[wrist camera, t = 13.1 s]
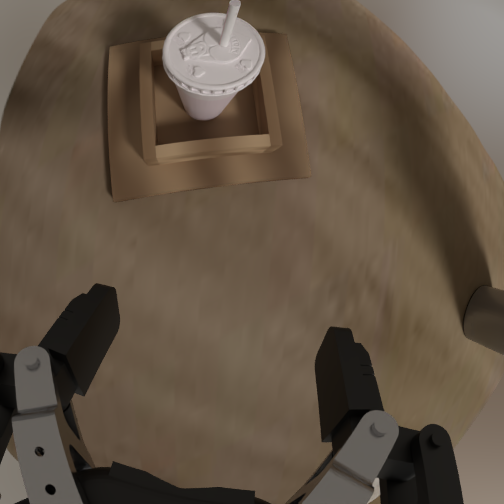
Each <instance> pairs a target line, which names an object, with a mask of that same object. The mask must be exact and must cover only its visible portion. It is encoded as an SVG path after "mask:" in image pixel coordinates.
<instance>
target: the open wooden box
mask: <svg viewBox="0 0 504 504" xmlns="http://www.w3.org/2000/svg"><path fill="white" fill-rule="evenodd" d="M258 33H259V34H260V36H261V38H262V40H263V42H264V46H265V59H264V62H263V65H262V67H261V70H260V72H259V74H258V76H257V77H256V78H255V79H254V81H253V82H252V83H251V84H249V85H248V86H246V87H245V88H244V89H242V90H240V91H238V92H237V94H236V95H235V96H234V97H233V98H232V100H231V101H230V102H229V103H228V105H227V106H226V107H225V108H224V110H223V111H222V112H221V113H220V114H219V115H218V116H217V117H216V118H214V119H211V120H207V121H200V120H196V119H194V118H192V117H191V116H189V115H188V114H187V112H186V111H185V108H184V106H183V103H182V100H181V98H180V95H179V92H178V90H177V87H176V84H175V83H174V82H173V81H172V80H171V79H170V78H169V77H168V75H167V73H166V71H165V69H164V66H163V60H162V55H163V45H164V42H165V39H166V37H160V38H153V39H147V40H141V41H135V42H130V43H125V44H120V45H115V46H111V47H110V50H109V67H108V142H109V160H110V173H111V185H112V195H113V202H121V201H126V200H132V199H138V198H144V197H150V196H156V195H162V194H168V193H175V192H182V191H189V190H196V189H204V188H211V187H219V186H228V185H236V184H245V183H255V182H265V181H276V180H288V179H300V178H308V177H311V170H310V162H309V155H308V148H307V142H306V135H305V129H304V122H303V116H302V110H301V105H300V99H299V94H298V88H297V83H296V78H295V72H294V67H293V62H292V58H291V53H290V48H289V44H288V39H287V35H286V34H281V33H262V32H258Z"/></svg>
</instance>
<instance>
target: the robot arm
mask: <svg viewBox="0 0 504 504" xmlns="http://www.w3.org/2000/svg"><path fill="white" fill-rule="evenodd" d="M119 325H120V315H119V308H118V301H117V294H116V289H115V288H114V287H110V286H106V285H102V284H98V283H96V284H94V285H93V287H92V288H91V289H90V291H89V292H88V293H87V294H84V293H82V294H81V295H79V296H77V297H76V298H74V299H73V300H72V301H71V302H70V303H69V304H68V306H67V307H66V308H65V311H63V312H62V314H61V315H60V316H59V318H58V319H57V320H56V322H55V323H54V324H53V326H52V327H51V328H50V330H49V331H48V332H47V334H46V335H45V337H44V338H43V339H42V341H41V342H40V344H39V345H38V346H30V347H26V348H24V349H23V350H21V351H20V352H19V353H18V354H8V353H0V464H1V461H2V458H3V456H4V453H5V450H6V448H7V445H8V443H9V440H10V438H11V435H12V433H13V434H14V440H15V445H16V451H17V456H18V461H19V465H20V469H21V474H22V477H23V481H24V485H25V488H26V492H27V495H28V498H26V499H24V500H22V501H19V502H17V503H15V504H270V503H269V502H267V501H264V500H262V499H259V498H256V497H255V491H250V490H239V489H231V488H223V487H212V488H186V489H184V488H178V487H176V486H174V485H171V484H169V483H167V482H165V481H163V480H161V479H159V478H157V477H155V476H153V475H151V474H149V473H148V472H146V471H142V470H139V469H135V468H132V467H129V466H126V465H123V464H120V463H117V462H114V461H113V463H112V466H111V467H97V468H96V467H95V465H94V462H93V460H92V458H91V456H90V454H89V452H88V450H87V448H86V446H85V444H84V441H83V438H82V435H81V431H80V428H79V425H78V421H77V418H76V414H75V410H74V407H73V403H72V400H71V399H72V397H73V395H74V393H76V394H79V395H82V396H85V394H86V392H87V390H88V388H89V386H90V384H91V382H92V380H93V378H94V376H95V374H96V372H97V370H98V368H99V366H100V364H101V362H102V360H103V358H104V357H105V355H106V353H107V351H108V349H109V347H110V345H111V343H112V341H113V340H114V338H115V336H116V334H117V332H118V329H119ZM464 333H465V336H466V337H467V338H468V339H470V340H472V341H474V342H476V343H478V344H481V345H483V346H485V347H487V348H489V349H491V350H494V351H496V352H498V353H500V354H502V355H504V290H500V289H497V288H493V287H489V286H481V287H480V288H479V289H477V291H476V292H475V293H474V295H473V296H472V298H471V300H470V302H469V304H468V307H467V310H466V314H465V318H464ZM315 375H316V384H317V394H318V404H319V415H320V426H321V439H322V442H332V448H333V449H332V450H331V451H330V453H329V454H328V455H327V457H326V458H325V459H324V461H323V462H322V463H321V464H320V466H319V467H318V468H317V469H316V471H315V472H314V473H313V474H312V475H311V477H310V478H309V479H308V480H307V481H306V483H305V484H304V485H303V486H302V487H301V488H300V489H299V490H298V491H297V492H296V493H295V494H294V495H293V496H292V497H291V498H290V499H289V500H288V501H287V502H286V503H285V504H367V503H368V501H369V500H370V498H371V496H372V495H373V492H374V487H373V486H372V485H373V482H374V480H375V479H376V478H379V485H380V499H381V504H464V503H463V497H462V491H461V485H460V480H459V474H458V470H457V465H456V460H455V456H454V452H453V447H452V443H451V439H450V436H449V434H448V433H447V431H446V430H445V429H444V428H443V427H441V426H439V425H436V424H430V425H427V426H425V427H424V428H423V429H422V430H421V431H417V430H412V429H408V428H404V427H400V426H398V424H397V422H396V420H395V419H394V418H393V417H392V416H391V415H390V414H388V413H386V412H384V409H383V405H382V401H381V397H380V393H379V389H378V385H377V382H376V378H375V376H374V371H373V367H372V364H371V360H370V357H369V354H368V352H367V351H366V350H365V348H364V347H363V346H362V344H361V343H355V342H354V338H353V334H352V331H351V329H349V328H340V327H330V328H329V329H328V331H327V333H326V335H325V337H324V340H323V342H322V344H321V346H320V348H319V351H318V353H317V356H316V360H315ZM0 499H1V494H0Z"/></svg>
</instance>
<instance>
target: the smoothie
mask: <svg viewBox="0 0 504 504" xmlns="http://www.w3.org/2000/svg"><path fill="white" fill-rule="evenodd" d="M240 5H241V2H240V1H239V0H231V1H230V3H229V7H228V10H227V14H223V13H204V14H199V15H195V16H192V17H189V18H187V19H185V20H183V21H182V22H180V23H179V24H177V25H176V26H175V27H174V28H173V29H172V30H171V31H170V32H169V34H168V35H167V37H166V39H165V42H164V45H163V55H162V60H163V66H164V69H165V71H166V73H167V75H168V77H169V78H170V79H171V80H172V81H173V82H174V83H175V84H176V87H177V90H178V92H179V95H180V98H181V100H182V103H183V106H184V108H185V111H186V112H187V114H188V115H189V116H191V117H192V118H194V119H196V120H200V121H207V120H211V119H214V118H216V117H217V116H218V115H219V114H220V113H221V112H222V111H223V110H224V108H225V107H226V106H227V105H228V103H229V102H230V101H231V100H232V98H233V97H234V96H235V95H236V94H237V92H238V91H240V90H242V89H244V88H245V87H246V86H248V85H249V84H251V83H252V82H253V81H254V79H255V78H256V77H257V76H258V74H259V72H260V70H261V67H262V65H263V62H264V59H265V46H264V42H263V40H262V38H261V36H260V34H259V33H258V32H257V31H256V29H255V28H254V27H252V26H251V25H250V24H249V23H247V22H246V21H244V20H242V19H240V18H238V17H237V14H238V11H239V8H240Z"/></svg>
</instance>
